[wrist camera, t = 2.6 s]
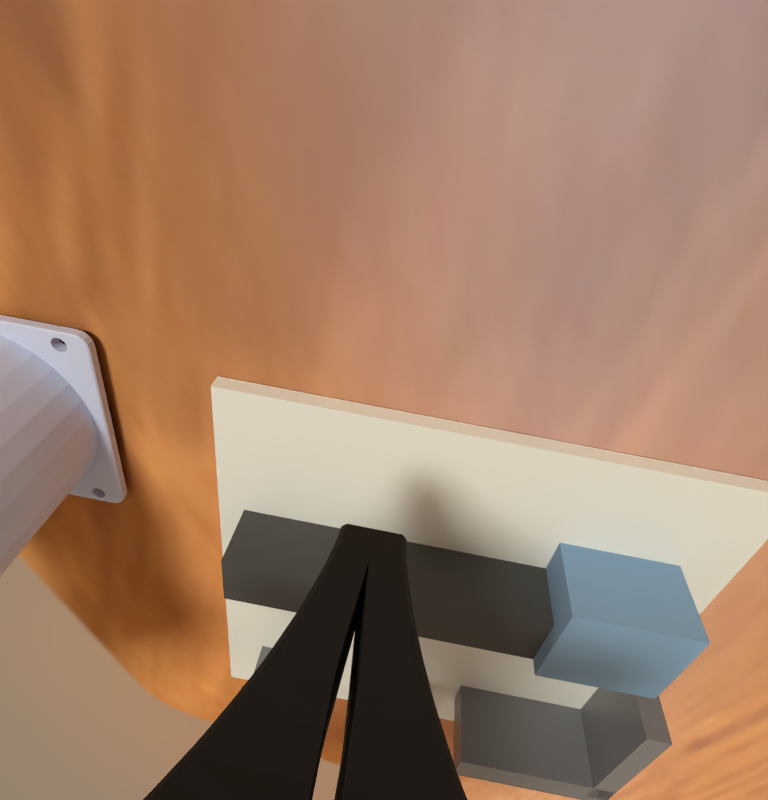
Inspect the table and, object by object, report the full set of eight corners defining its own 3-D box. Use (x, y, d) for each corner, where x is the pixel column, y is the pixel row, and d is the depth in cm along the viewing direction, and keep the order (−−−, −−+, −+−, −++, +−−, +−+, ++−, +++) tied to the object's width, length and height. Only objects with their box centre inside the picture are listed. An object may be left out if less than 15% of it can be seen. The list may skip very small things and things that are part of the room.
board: (234, 665, 30) (207, 744, 27) (217, 376, 18) (163, 455, 15) (577, 734, 29) (591, 822, 26) (794, 486, 17) (868, 592, 14)
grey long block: (245, 547, 22) (218, 612, 20) (243, 481, 20) (212, 545, 17) (634, 623, 22) (654, 699, 20) (680, 565, 20) (709, 643, 17)
